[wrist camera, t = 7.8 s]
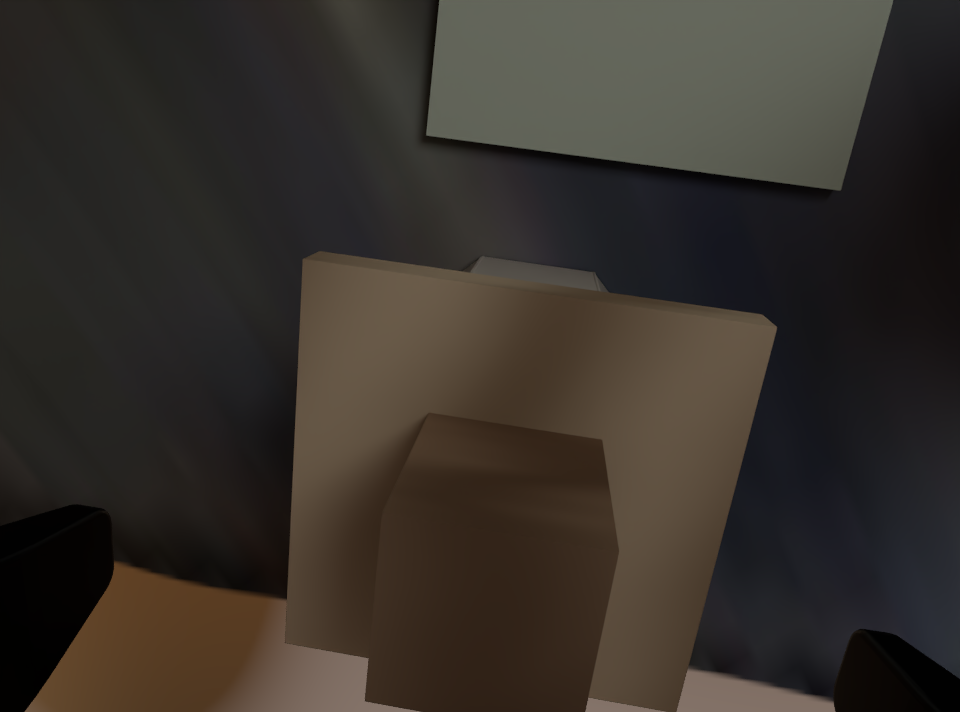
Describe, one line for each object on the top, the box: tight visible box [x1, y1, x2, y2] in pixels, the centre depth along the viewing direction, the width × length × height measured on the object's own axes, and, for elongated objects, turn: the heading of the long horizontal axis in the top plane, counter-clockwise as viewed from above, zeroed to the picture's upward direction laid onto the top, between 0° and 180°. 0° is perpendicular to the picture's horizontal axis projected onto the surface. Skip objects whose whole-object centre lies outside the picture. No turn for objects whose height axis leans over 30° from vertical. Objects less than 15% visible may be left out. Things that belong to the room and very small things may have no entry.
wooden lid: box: [285, 251, 777, 712], centre depth 13 cm, size 9×9×5 cm
